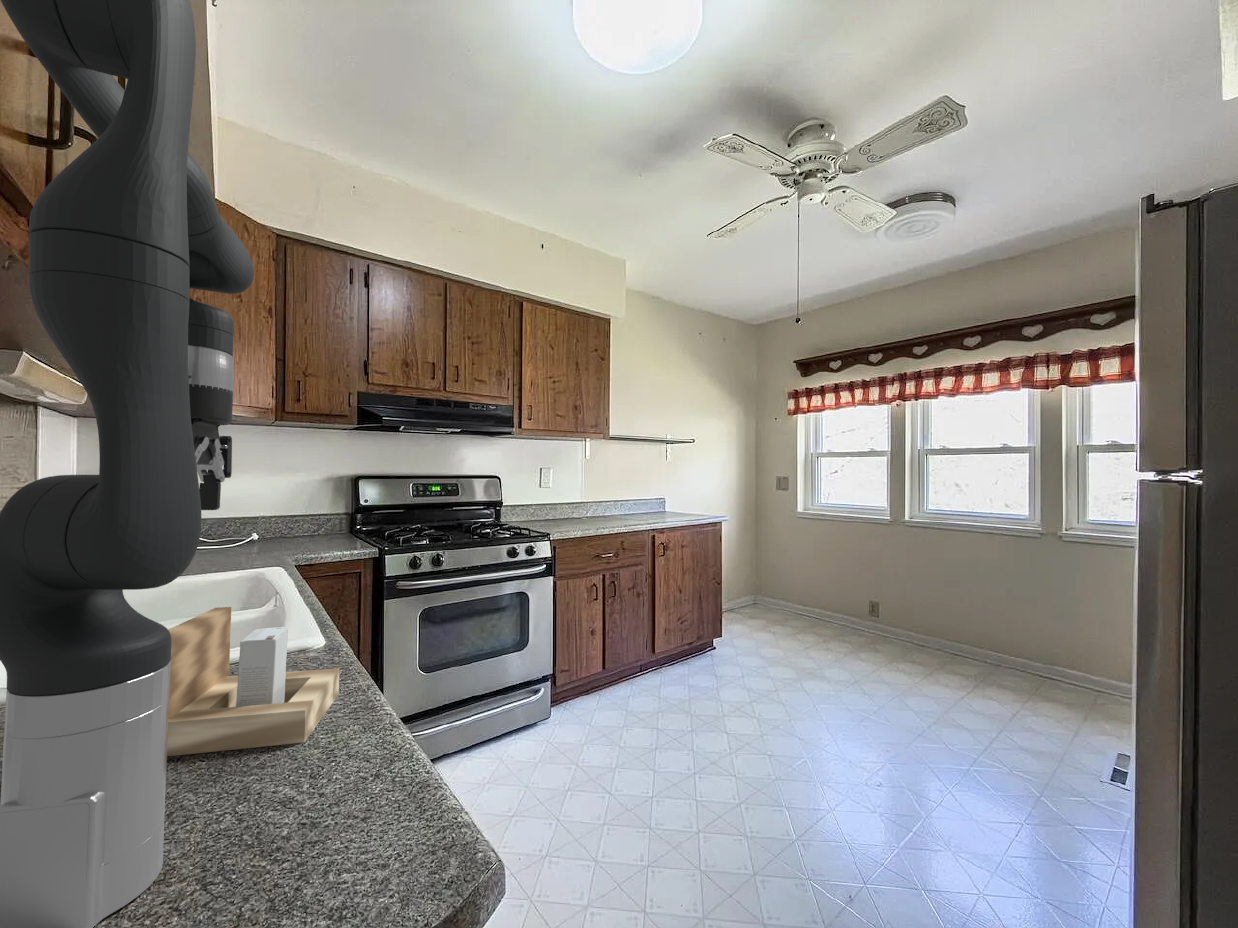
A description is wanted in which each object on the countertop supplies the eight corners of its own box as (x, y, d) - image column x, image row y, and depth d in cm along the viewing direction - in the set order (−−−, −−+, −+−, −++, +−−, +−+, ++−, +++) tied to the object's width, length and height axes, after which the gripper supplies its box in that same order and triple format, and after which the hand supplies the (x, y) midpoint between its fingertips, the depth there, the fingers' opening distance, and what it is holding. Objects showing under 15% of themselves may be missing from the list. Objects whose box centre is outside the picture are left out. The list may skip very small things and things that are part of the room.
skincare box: (249, 715, 72) (252, 628, 72) (286, 711, 73) (289, 625, 74) (232, 736, 66) (236, 640, 67) (273, 730, 68) (276, 637, 68)
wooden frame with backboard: (303, 744, 64) (306, 630, 65) (140, 760, 60) (145, 639, 61) (339, 693, 80) (342, 602, 80) (212, 703, 76) (215, 607, 76)
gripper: (199, 376, 61) (192, 514, 60) (255, 397, 75) (250, 509, 74) (124, 372, 59) (116, 514, 58) (195, 394, 73) (189, 509, 72)
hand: (191, 511), depth 66 cm, fingers open, 8 cm apart
